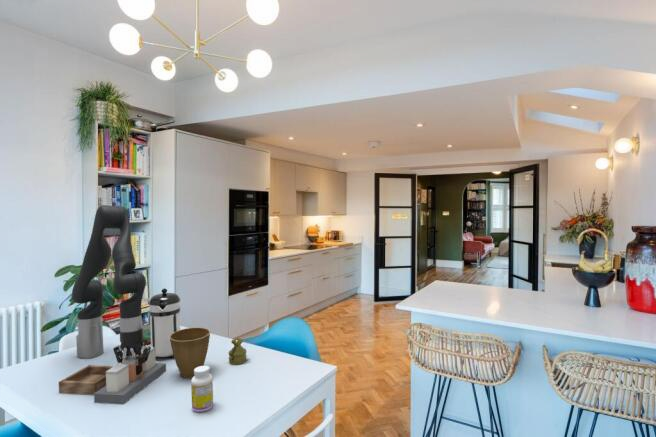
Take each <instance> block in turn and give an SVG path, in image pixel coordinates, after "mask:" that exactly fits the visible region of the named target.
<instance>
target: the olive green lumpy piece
mask: <svg viewBox="0 0 656 437" xmlns="http://www.w3.org/2000/svg"><path fill="white" fill-rule="evenodd" d="M230 342H231V344H233V347H232V348H231V349H230V350H229V351H228V363H229V364H230V365H235V366H236V365H237V366H238V365H242V364H245V363H246V362H247V359H248V358H247V356H248V355H247V349H246V348H244V346H243V345H242V343H243V342H244V339H243V338H241V337H239V336H238V337H235V338H233V339H232V340H231V341H230Z"/></svg>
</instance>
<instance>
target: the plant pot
mask: <svg viewBox="0 0 656 437" xmlns="http://www.w3.org/2000/svg"><path fill="white" fill-rule="evenodd" d="M210 334H211V331H210V330H209V329H208V328H205V327H196V326H195V327H188V328H182V329H180V330H179V331H176V332H174V333H172V334H171V335H170V342H171V347H172V351H173V355H174V357H173V358H174V361H175V364H176V367H177V369H178V372H179V373H180V376H181V377H183V378H187V379H188V378H193V377H194V376H195V374H194V369H195V368H197V367H199V366H205V362H206V359H207V353H208V351H209V349H208V348H209V343H210V338H211V335H210Z"/></svg>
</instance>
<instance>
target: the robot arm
mask: <svg viewBox="0 0 656 437" xmlns="http://www.w3.org/2000/svg"><path fill="white" fill-rule="evenodd" d="M95 211H96V212H95V215H94V218H93V219H94V220H93V225H92V232H91V236H90V238H89V241H88V245H87V247H86V250H85V253H84V257H83V261H82V265H81V267H80V271H79V273H78V276H77V277H76V280H75V282H74V285H73V286H72V290H71V291H72V292H71V298H72V301H73V302H74V303H75V304H86V303H87V304H88V303H89V304H88V305H87V306H86V307H84V308H83V309H80V310H79V311H78V312H77V332H78V333H77V335H76V336H75V337H76V339H75V340H76V357H77V358H79V359H91V358H92V359H93V358H96V357H98V356H101V355H103V354H104V335H103V334H104V333H103V332H104V328H103V309H104V308H103V307H104V306H103V303H104V302H103V301H104V298H103V297H104V289H103V288H104V287H103V284H102V282H101V281H100V280H98V279H95V280H93V279H94V278H95V277H97V276H98V275H99V274H101V273H102V271H104V270H105V269H106V267H108V264H109V262H110V259H111V256H112V261H113V266H114V279H113V282H112V283H113V285H112V288H113V291H114V292H115V293H116V294H118V295H122V296H123V295H128V294H132V296H130V297H129V298H127V299H124V300H122V301H121V302H119V326H118V327H119V341H120V344H118V345H117V346H114V347H113V349H112V350H113V353H114V355H115V358H116V362H117V364H122V361H124V360H126V359H127V358H129V357H131V356H133V359H134V360H135V363H136V375H139V374H141V372H142V364H143V363H144V362H146V361H147V359H148V356H149V353H150V349H151V345H147V346H144V344H143V342H142V340H143V324H144V323H143V315H142V303H143V302H142V301H143V297H144V291H145V288H146V285H147V278H146V276H145V275H144V274H143V273H142V272H134V273H130V272H132V271H134V270H135V269H136V267H137V264H136V263H137V262H136V260H135V255H134V251H133V248H132V247H133V246H132V237H131V236H132V235H131V224H130V223H131V221H130V215H129V212H128V209H127V208H126V207H125V206H121V205H108V204H107V205H106V204H105V205H99V206H98V208H97V209H96V210H95ZM105 229H119V231H120V234H119V235H118V238H117V239H116V242H115V243H114V244H113V247H112V248H111V245H110V243H109V242H108V241H107V239H106V236H105V235H104V231H105ZM141 350H142V352H141ZM142 353H143V354H142ZM136 355H137V356H136ZM138 358H139V359H138Z"/></svg>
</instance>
